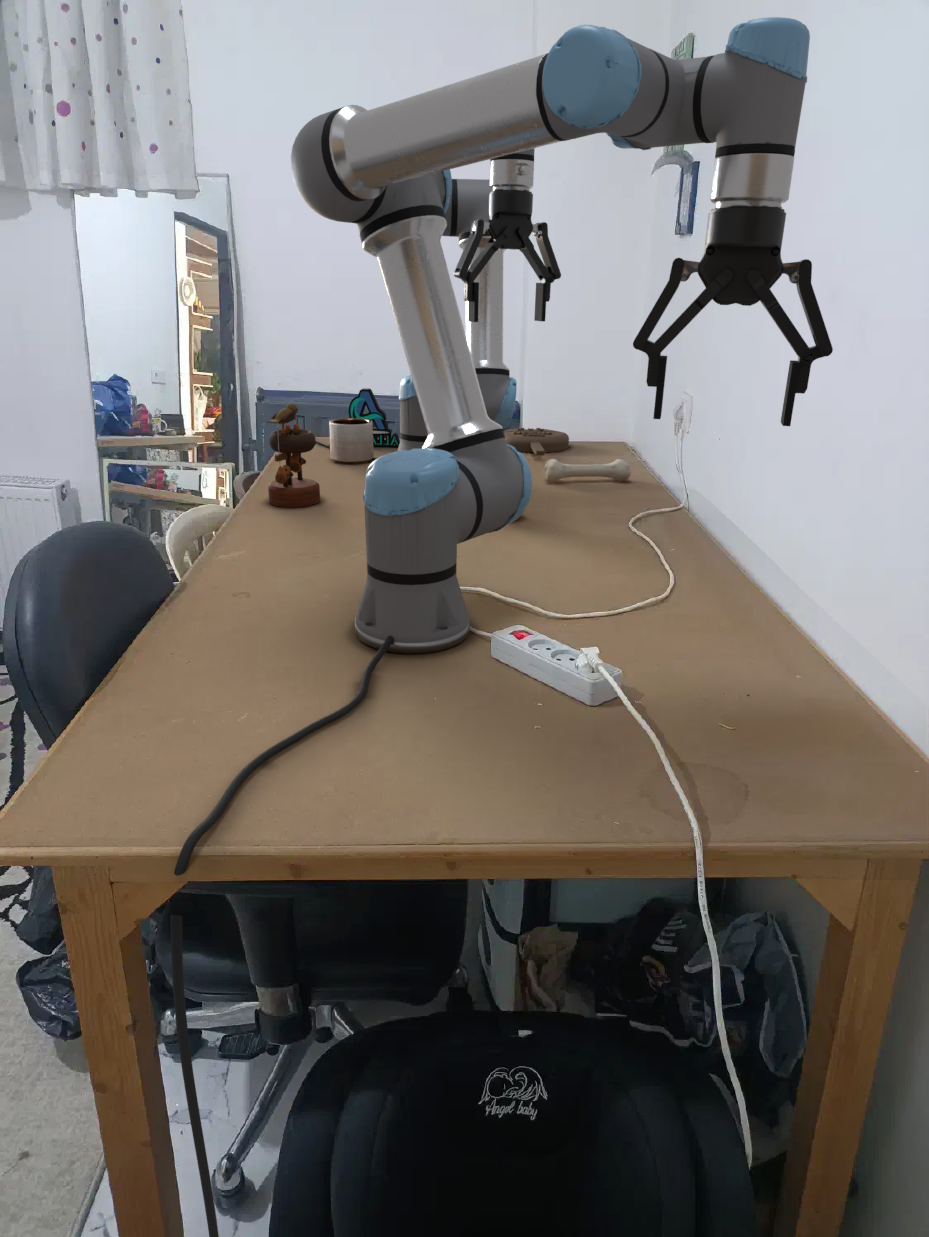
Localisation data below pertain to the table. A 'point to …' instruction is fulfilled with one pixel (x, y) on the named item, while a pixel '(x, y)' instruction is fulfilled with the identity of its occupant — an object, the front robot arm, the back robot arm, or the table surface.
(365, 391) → the decorative sign
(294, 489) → the music box
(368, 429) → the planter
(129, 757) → the table surface
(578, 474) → the dog toy
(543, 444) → the ice cream bar
